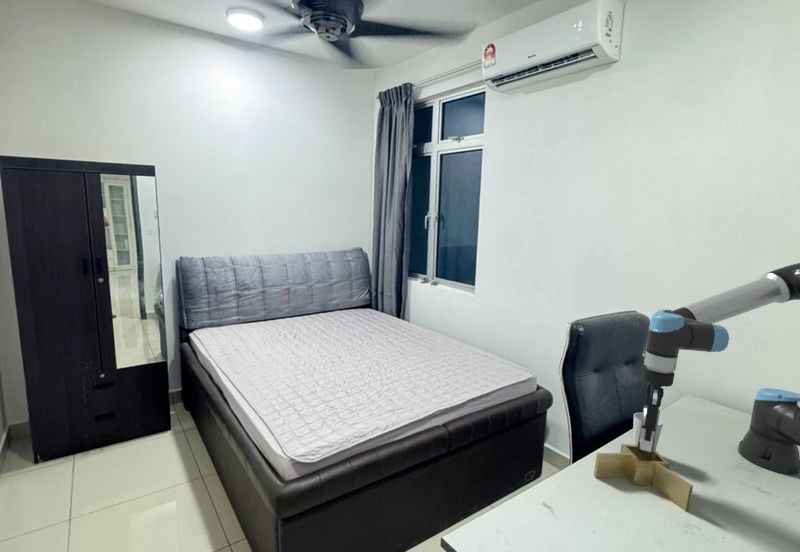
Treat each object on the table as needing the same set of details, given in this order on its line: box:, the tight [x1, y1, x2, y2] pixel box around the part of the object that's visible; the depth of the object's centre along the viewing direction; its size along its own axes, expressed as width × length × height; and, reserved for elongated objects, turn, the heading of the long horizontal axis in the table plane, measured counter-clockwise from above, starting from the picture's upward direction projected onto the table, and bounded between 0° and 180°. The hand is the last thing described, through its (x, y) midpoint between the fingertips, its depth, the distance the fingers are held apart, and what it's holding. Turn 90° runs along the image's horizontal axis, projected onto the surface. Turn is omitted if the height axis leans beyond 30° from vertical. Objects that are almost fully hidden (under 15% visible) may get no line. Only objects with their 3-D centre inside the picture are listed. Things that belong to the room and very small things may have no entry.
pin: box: [636, 405, 661, 456], centre depth 119 cm, size 4×4×13 cm
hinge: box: [593, 443, 694, 512], centre depth 116 cm, size 19×18×7 cm
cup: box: [631, 412, 664, 451], centre depth 132 cm, size 8×8×12 cm
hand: (645, 446), depth 119 cm, fingers closed on pin, 4 cm apart
